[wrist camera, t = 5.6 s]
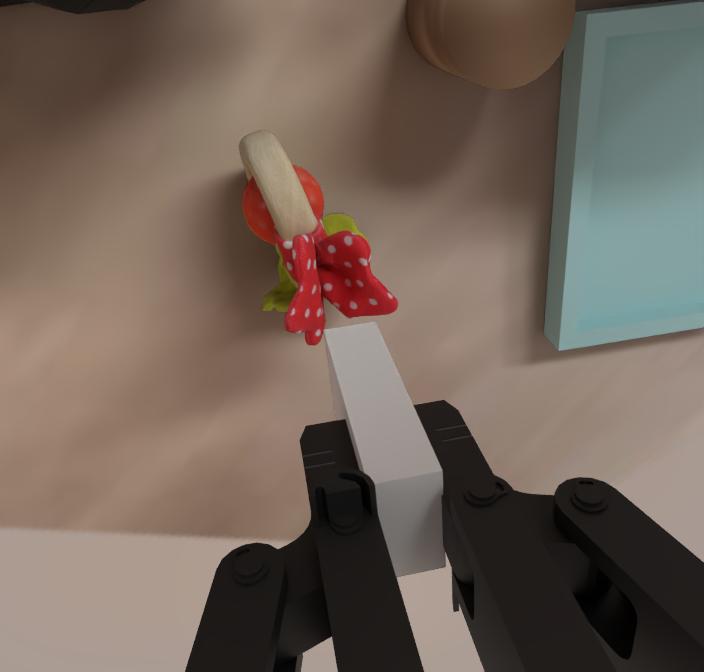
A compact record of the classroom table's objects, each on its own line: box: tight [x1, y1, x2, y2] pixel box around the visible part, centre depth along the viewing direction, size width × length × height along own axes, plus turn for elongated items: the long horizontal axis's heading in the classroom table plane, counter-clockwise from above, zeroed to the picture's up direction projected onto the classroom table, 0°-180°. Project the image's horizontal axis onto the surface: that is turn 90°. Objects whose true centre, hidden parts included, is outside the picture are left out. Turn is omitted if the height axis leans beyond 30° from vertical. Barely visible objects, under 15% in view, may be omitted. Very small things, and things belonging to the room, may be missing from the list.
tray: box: [544, 0, 704, 351], centre depth 33 cm, size 17×12×2 cm
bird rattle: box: [239, 130, 398, 345], centre depth 28 cm, size 6×11×9 cm
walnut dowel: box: [406, 0, 575, 90], centre depth 26 cm, size 5×5×6 cm
